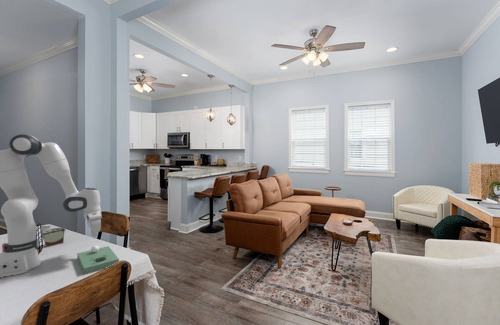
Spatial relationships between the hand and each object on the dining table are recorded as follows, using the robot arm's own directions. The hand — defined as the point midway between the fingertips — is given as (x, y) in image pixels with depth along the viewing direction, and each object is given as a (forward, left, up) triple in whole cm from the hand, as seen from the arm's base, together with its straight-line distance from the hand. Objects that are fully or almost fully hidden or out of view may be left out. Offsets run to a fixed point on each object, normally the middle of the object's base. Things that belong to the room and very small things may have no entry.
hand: (94, 236), depth 146 cm
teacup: (-24, +55, -11) cm, 61 cm away
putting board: (-1, -14, -11) cm, 18 cm away
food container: (-18, +35, -11) cm, 40 cm away
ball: (-1, -7, -6) cm, 9 cm away
